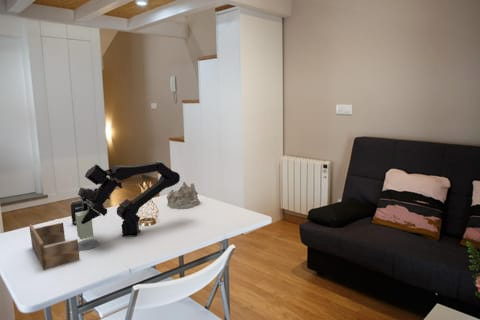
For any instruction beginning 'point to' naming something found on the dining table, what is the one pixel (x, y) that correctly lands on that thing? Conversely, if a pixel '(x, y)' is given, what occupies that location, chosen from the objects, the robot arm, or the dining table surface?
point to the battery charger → (75, 209)
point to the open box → (53, 246)
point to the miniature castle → (183, 197)
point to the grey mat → (87, 244)
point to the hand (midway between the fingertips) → (80, 221)
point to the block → (83, 226)
